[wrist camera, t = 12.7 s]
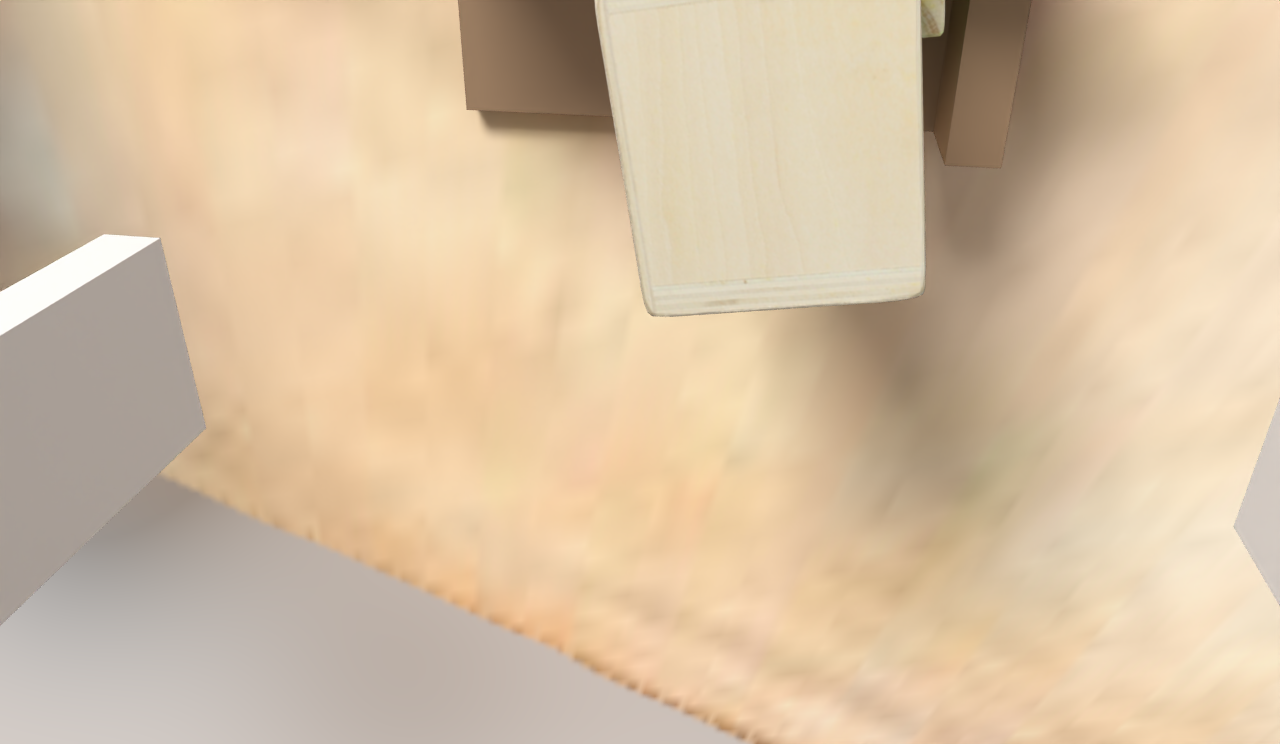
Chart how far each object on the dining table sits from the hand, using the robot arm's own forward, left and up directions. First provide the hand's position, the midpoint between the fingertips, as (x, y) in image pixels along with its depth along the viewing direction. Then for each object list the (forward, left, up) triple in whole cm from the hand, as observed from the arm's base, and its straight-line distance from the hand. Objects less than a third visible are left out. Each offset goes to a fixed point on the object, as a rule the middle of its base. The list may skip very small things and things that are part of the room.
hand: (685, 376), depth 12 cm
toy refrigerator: (+1, 0, -32) cm, 32 cm away
